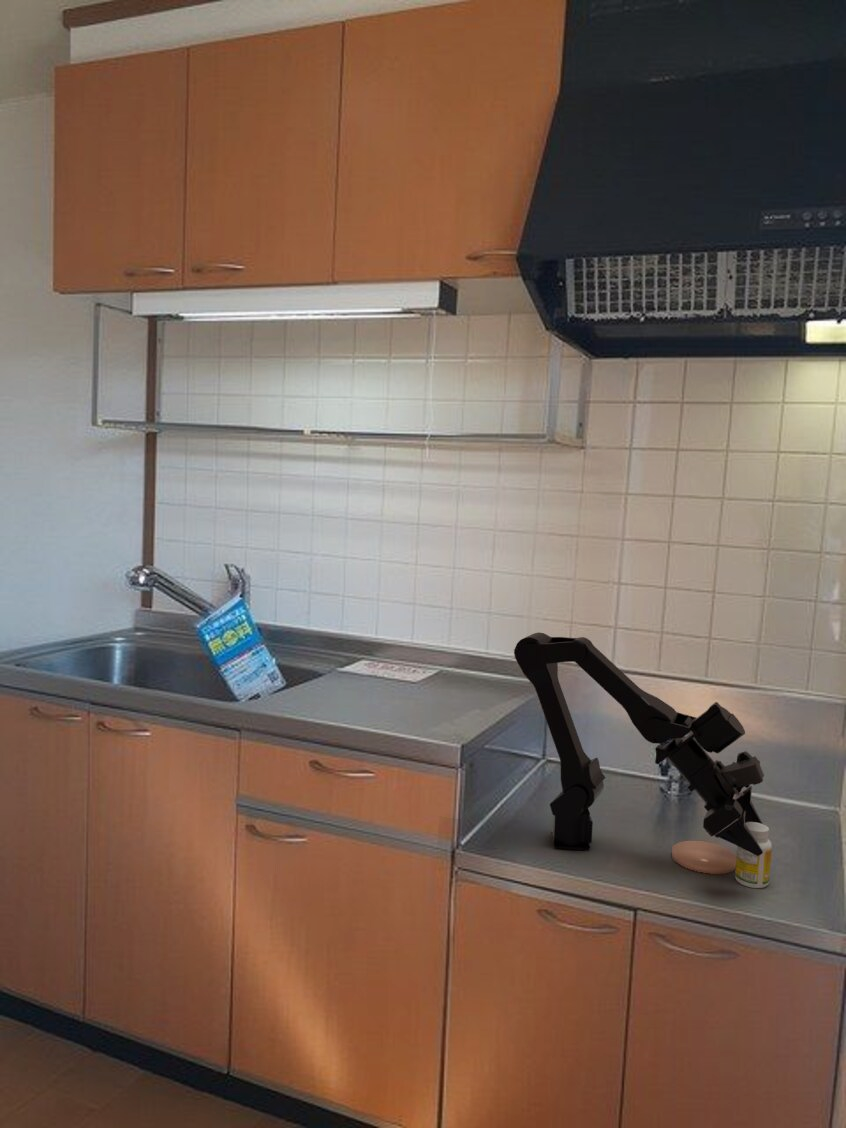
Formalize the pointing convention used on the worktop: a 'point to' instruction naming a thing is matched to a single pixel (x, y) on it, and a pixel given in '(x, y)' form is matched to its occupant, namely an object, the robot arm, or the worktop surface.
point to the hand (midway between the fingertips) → (762, 843)
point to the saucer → (704, 857)
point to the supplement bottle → (755, 859)
